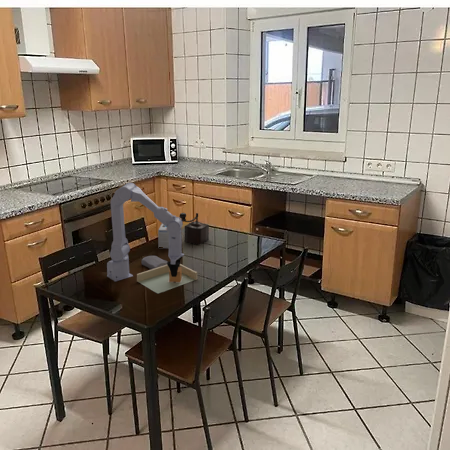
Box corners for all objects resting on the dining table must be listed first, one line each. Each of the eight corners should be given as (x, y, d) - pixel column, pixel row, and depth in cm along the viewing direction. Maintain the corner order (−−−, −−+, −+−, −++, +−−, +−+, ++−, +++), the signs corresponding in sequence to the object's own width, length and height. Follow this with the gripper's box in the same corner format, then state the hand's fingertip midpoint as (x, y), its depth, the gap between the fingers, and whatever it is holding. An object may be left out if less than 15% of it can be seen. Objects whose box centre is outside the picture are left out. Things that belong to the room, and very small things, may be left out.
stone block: (155, 263, 225) (139, 265, 218) (156, 254, 224) (140, 255, 217) (169, 271, 218) (153, 273, 210) (171, 262, 217) (155, 263, 209)
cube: (180, 281, 199) (180, 271, 198) (169, 281, 199) (169, 271, 198) (181, 277, 204) (181, 267, 202) (170, 276, 204) (170, 266, 203)
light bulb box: (161, 241, 250) (161, 223, 247) (173, 241, 250) (173, 223, 247) (158, 248, 240) (157, 229, 237) (170, 248, 240) (170, 229, 237)
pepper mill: (193, 236, 260) (193, 206, 254) (209, 239, 255) (209, 209, 249) (177, 244, 247) (177, 213, 241) (194, 248, 242) (194, 216, 236)
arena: (157, 294, 189) (157, 286, 187) (137, 282, 200) (136, 274, 198) (197, 280, 203) (197, 272, 202) (176, 269, 214) (175, 261, 213)
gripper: (182, 251, 189) (182, 280, 194) (185, 239, 203) (185, 266, 208) (165, 250, 190) (166, 279, 194) (170, 238, 203) (170, 266, 208)
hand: (175, 272), depth 201 cm, fingers open, 7 cm apart
